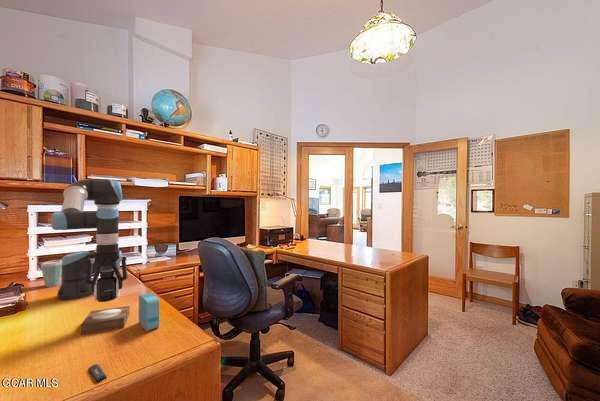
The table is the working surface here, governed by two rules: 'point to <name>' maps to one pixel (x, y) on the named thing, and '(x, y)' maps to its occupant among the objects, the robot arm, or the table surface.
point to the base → (105, 320)
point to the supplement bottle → (106, 286)
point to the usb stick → (97, 373)
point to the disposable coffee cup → (52, 272)
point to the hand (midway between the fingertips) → (107, 298)
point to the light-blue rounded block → (149, 311)
